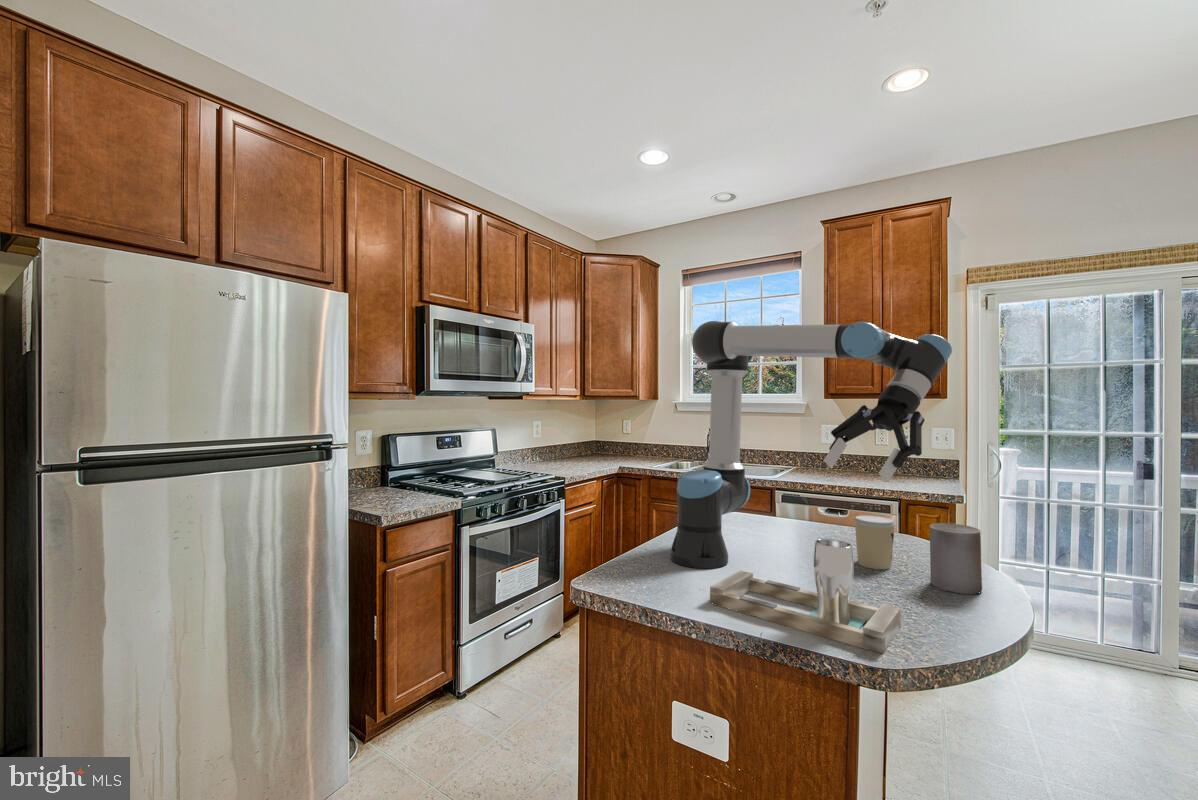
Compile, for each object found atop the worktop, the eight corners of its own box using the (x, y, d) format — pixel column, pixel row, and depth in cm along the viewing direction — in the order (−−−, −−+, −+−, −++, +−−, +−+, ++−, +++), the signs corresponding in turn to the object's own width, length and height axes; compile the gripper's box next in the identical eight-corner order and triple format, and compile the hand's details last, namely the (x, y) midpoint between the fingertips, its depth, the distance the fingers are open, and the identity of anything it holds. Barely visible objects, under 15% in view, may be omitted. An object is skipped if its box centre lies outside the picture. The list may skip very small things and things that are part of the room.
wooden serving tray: (709, 603, 105) (709, 586, 105) (740, 585, 115) (740, 570, 115) (882, 654, 83) (882, 632, 84) (900, 626, 94) (900, 607, 94)
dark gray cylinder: (960, 580, 121) (959, 517, 121) (993, 595, 111) (991, 526, 111) (920, 580, 120) (919, 517, 121) (949, 595, 111) (948, 527, 111)
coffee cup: (902, 570, 127) (902, 523, 127) (865, 570, 128) (865, 522, 128) (882, 559, 137) (882, 515, 137) (847, 559, 137) (847, 514, 137)
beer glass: (813, 626, 93) (813, 545, 94) (812, 612, 100) (812, 536, 100) (855, 633, 91) (855, 549, 91) (851, 618, 97) (851, 540, 98)
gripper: (970, 411, 102) (919, 495, 97) (861, 400, 124) (816, 468, 120) (955, 387, 99) (901, 473, 95) (846, 380, 122) (799, 449, 117)
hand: (853, 470), depth 107 cm, fingers open, 13 cm apart
